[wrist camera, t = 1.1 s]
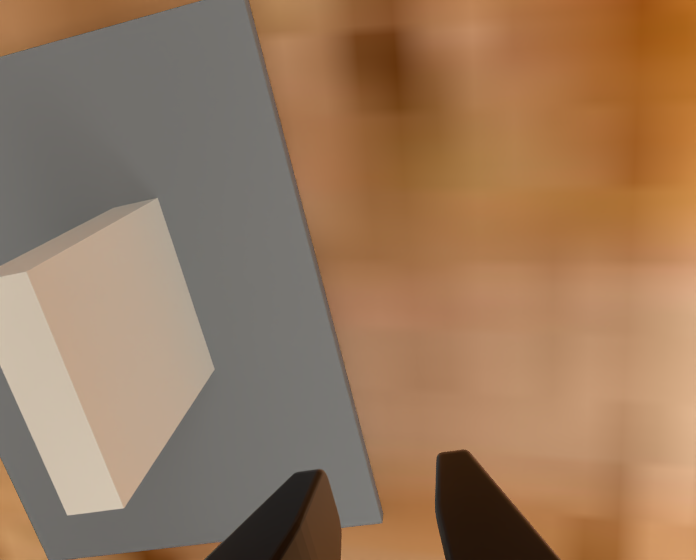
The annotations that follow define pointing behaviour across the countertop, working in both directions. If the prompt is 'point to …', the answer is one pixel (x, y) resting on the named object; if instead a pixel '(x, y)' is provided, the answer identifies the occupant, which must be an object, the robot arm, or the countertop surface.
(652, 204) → the countertop surface
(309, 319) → the mat
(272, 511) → the robot arm
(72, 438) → the tile
